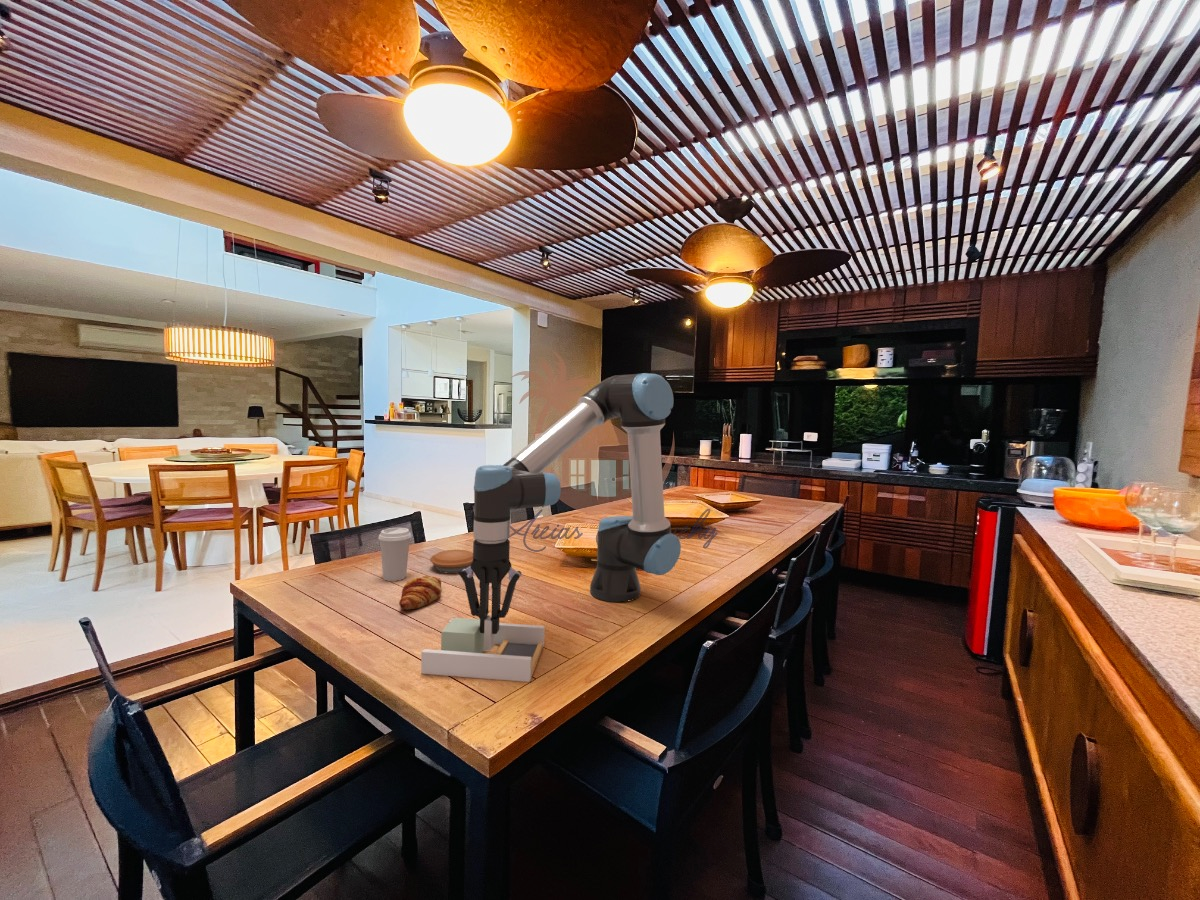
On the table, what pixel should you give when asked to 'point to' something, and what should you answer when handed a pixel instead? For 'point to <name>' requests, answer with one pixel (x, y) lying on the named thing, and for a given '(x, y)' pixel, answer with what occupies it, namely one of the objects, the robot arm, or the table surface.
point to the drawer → (522, 651)
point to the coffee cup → (394, 552)
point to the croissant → (420, 592)
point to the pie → (452, 560)
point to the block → (462, 636)
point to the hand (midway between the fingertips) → (489, 647)
